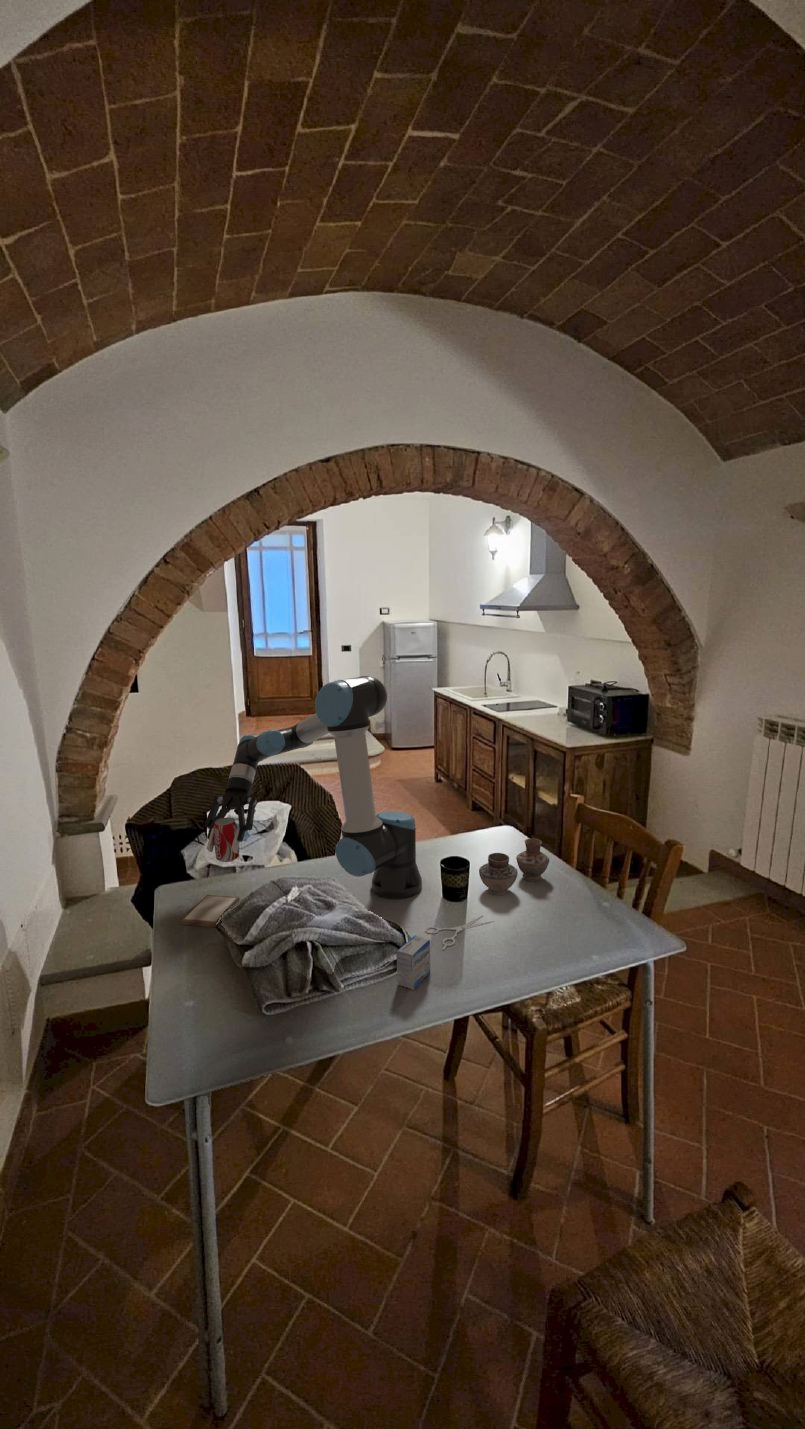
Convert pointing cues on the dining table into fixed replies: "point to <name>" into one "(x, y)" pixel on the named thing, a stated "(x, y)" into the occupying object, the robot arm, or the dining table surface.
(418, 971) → the medicine box
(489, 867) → the pottery
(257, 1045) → the dining table surface
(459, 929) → the scissors
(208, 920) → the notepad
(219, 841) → the soda can
